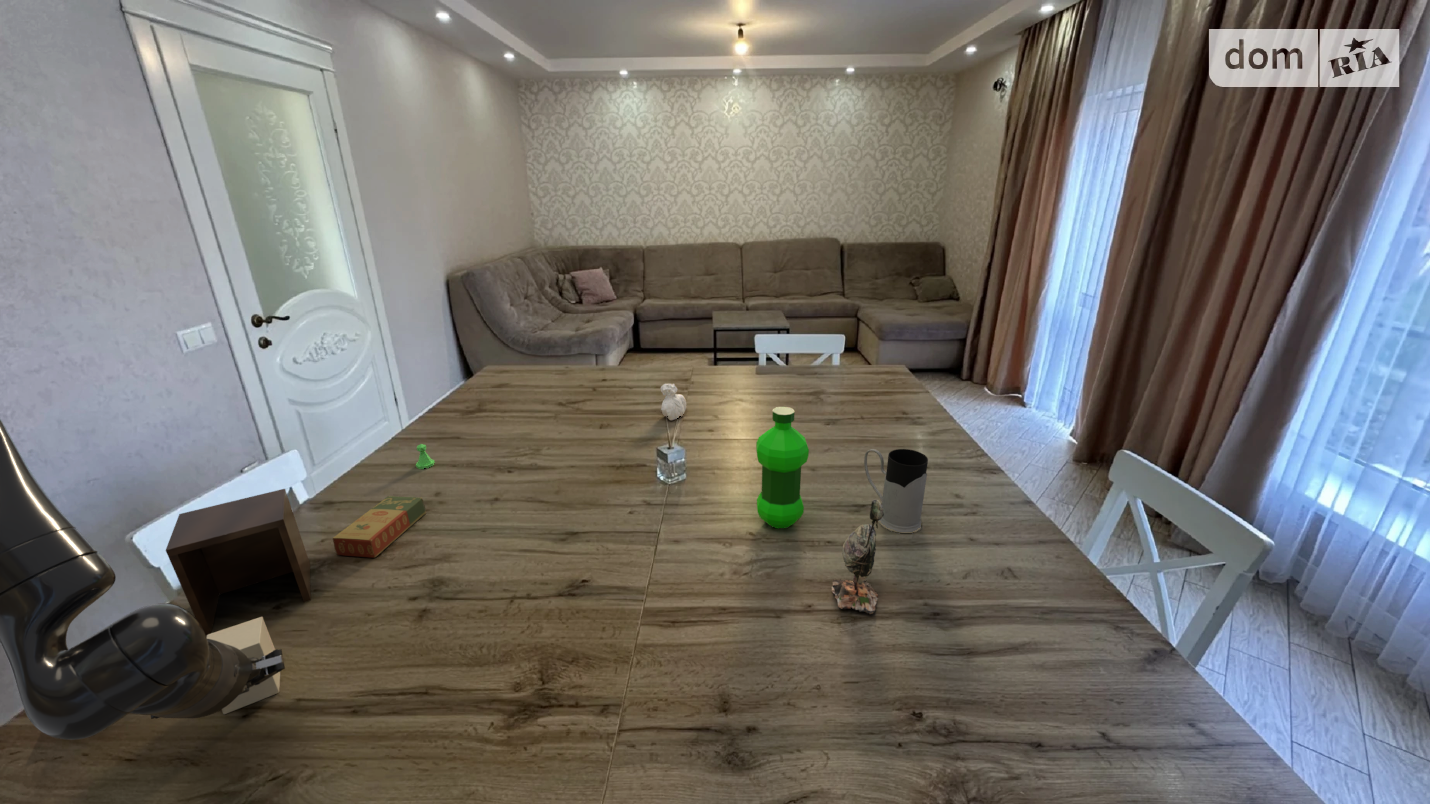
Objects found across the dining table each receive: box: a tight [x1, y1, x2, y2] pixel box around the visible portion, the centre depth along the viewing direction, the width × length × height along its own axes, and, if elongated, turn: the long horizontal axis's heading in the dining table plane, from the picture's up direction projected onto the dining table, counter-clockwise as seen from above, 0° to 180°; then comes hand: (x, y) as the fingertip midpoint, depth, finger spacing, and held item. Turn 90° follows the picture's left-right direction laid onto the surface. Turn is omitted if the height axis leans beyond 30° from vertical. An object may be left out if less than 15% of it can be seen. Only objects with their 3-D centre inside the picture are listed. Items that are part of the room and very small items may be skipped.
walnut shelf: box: [165, 488, 312, 636], centre depth 92 cm, size 14×12×16 cm
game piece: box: [415, 443, 436, 470], centre depth 139 cm, size 4×4×6 cm
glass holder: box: [863, 448, 929, 532], centre depth 114 cm, size 9×14×15 cm, turn 39°
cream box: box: [206, 616, 281, 715], centre depth 76 cm, size 6×6×9 cm
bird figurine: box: [831, 498, 884, 615], centre depth 91 cm, size 8×11×20 cm
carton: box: [332, 495, 427, 559], centre depth 111 cm, size 8×16×4 cm, turn 173°
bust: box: [660, 382, 687, 421], centre depth 168 cm, size 12×8×11 cm
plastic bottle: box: [755, 406, 810, 529], centre depth 110 cm, size 10×10×25 cm
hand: (241, 685), depth 73 cm, fingers closed
